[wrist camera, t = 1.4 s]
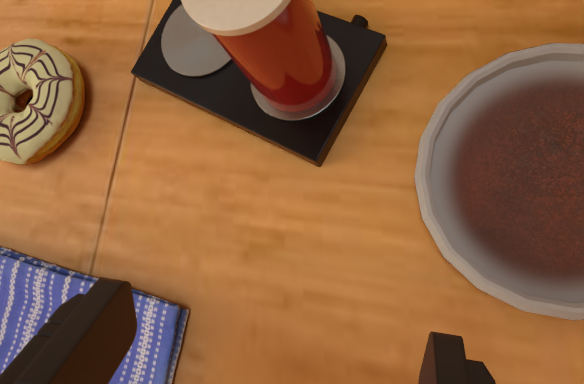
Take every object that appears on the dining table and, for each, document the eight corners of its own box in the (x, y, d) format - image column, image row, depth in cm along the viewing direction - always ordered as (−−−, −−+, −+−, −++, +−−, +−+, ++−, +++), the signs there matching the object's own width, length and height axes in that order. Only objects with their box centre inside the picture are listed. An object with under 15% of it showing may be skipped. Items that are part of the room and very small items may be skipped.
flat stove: (204, -32, 43) (195, -46, 41) (392, 35, 36) (390, 22, 35) (139, 79, 42) (127, 70, 40) (320, 167, 36) (315, 161, 34)
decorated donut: (-25, 134, 46) (-63, 119, 42) (40, 38, 46) (7, 15, 43) (45, 189, 42) (9, 178, 39) (115, 84, 42) (85, 64, 39)
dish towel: (-38, 233, 43) (-69, 228, 41) (197, 302, 36) (178, 301, 33) (-110, 435, 41) (-148, 444, 38) (128, 554, 33) (101, 575, 31)
